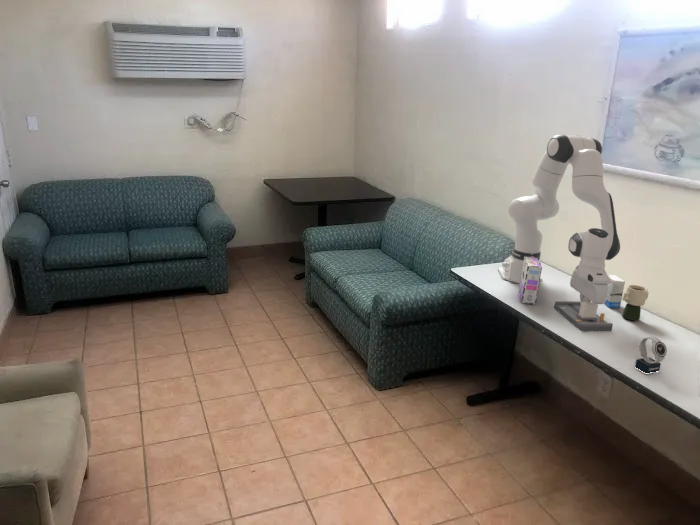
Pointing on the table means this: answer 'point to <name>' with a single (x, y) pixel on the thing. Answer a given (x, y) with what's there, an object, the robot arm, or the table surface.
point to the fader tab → (588, 311)
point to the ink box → (614, 292)
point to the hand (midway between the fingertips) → (583, 306)
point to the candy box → (530, 280)
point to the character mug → (634, 301)
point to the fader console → (570, 313)
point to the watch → (646, 362)
